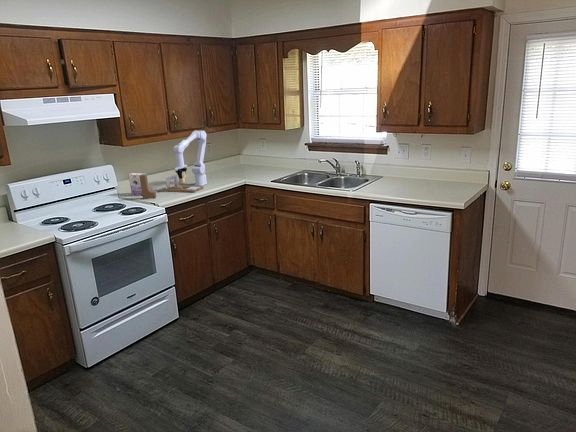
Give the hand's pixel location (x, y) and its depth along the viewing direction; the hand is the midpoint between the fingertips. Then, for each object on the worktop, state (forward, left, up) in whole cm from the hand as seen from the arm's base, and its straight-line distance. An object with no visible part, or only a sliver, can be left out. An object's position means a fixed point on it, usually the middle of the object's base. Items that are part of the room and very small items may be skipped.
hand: (182, 177), depth 355 cm
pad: (0, +9, -8) cm, 12 cm away
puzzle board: (0, 0, -10) cm, 10 cm away
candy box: (+18, -28, -10) cm, 35 cm away
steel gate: (0, -11, -8) cm, 13 cm away
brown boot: (+27, -12, -10) cm, 31 cm away
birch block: (0, 0, -3) cm, 3 cm away
